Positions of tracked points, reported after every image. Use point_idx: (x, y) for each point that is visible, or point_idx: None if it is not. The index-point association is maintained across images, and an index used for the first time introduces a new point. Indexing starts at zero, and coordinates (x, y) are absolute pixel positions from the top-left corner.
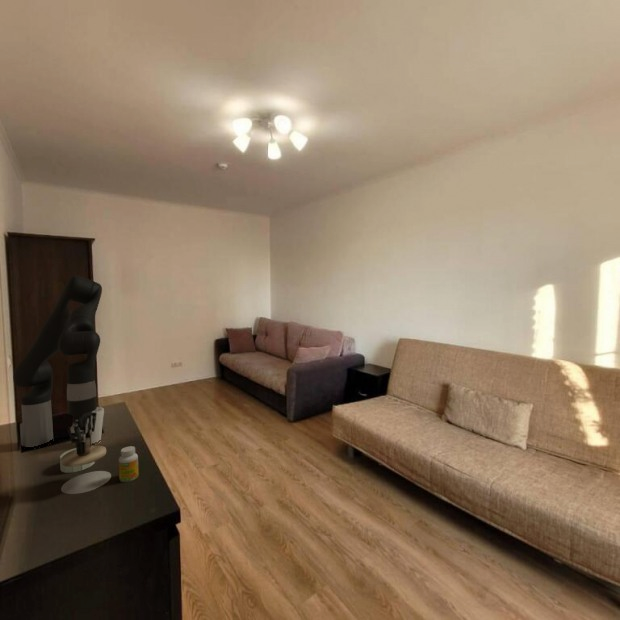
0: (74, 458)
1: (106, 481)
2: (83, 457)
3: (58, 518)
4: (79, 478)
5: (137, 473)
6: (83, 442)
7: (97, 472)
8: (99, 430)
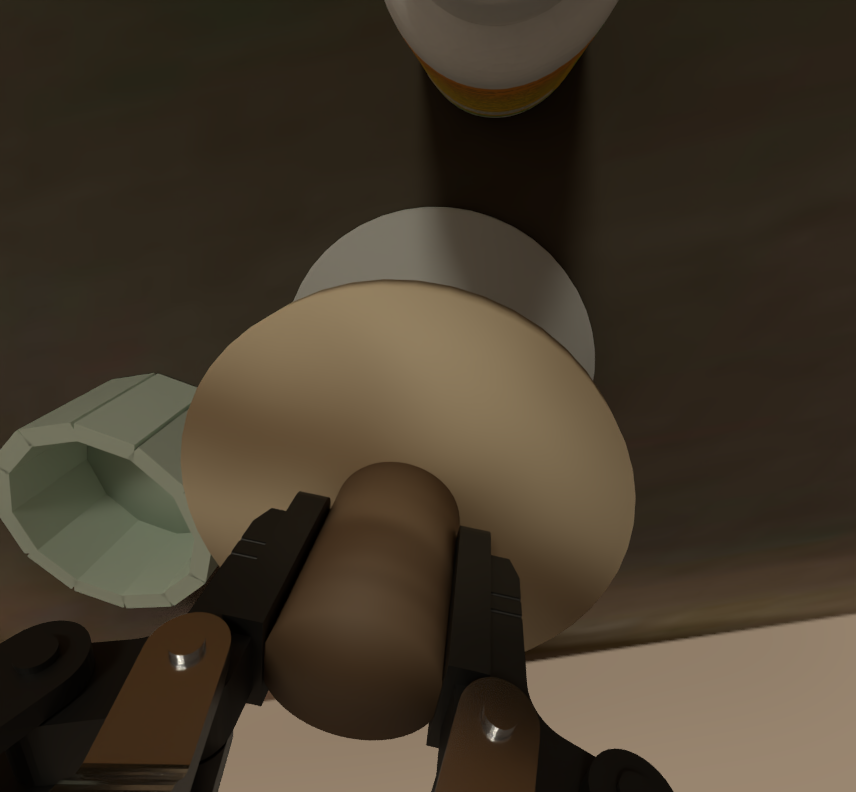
0: None
1: (496, 230)
2: (503, 509)
3: (840, 439)
4: None
5: None
6: (486, 676)
7: None
8: None
